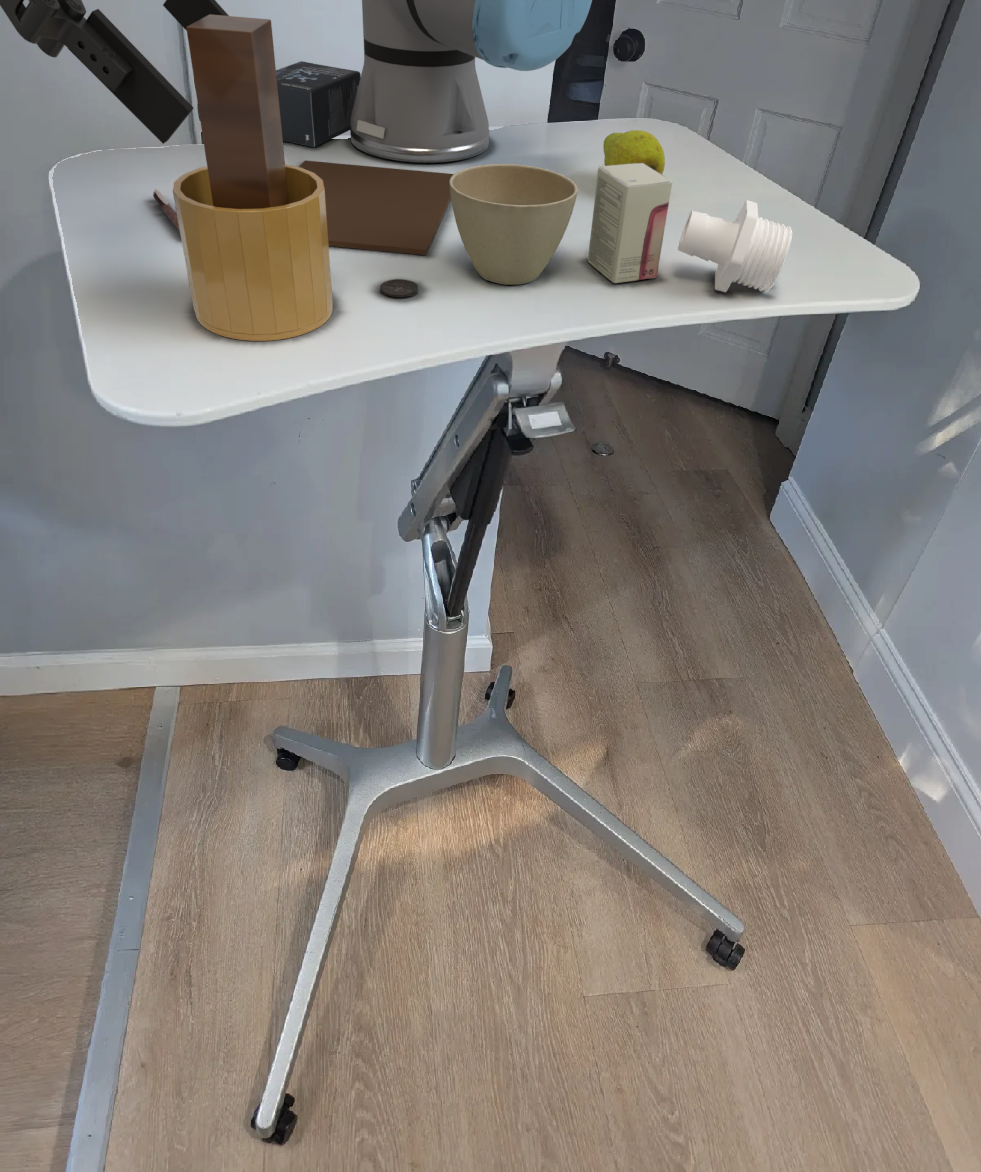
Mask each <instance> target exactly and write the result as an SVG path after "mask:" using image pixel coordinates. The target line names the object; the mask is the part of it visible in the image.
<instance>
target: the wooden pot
mask: <svg viewBox="0 0 981 1172" xmlns="http://www.w3.org/2000/svg"><path fill="white" fill-rule="evenodd" d="M285 170H286V180H287V190H288V201H289V204H287V205H284V206H277V207H270V208H262V209H232V208H222V207H214V206H213V201H212V194H211V187H210V181H209V174H208V168H207V165H206V166H201V167H198V168H195V169H192V170H190V171H188V172H185V173H183V174H182V175H181V176H179V177H178V178H177V179H176V180H175V181H174V182H173V186H172V195H173V200H174V206H175V213H176V214H177V218H178V224H179V229H180V231H179V235H180V239H181V246H182V251H183V256H184V262H185V267H186V272H187V279H188V284H189V285H188V286H189V290H190V295H191V296H190V297H191V300H192V307H193V311H194V313H195V317H196V320H197V321H198V323H199V324H200V325H201V326H202V327H203V328H204V329H206V330H207V331H209V332H212V333H213V334H216V335H218V336H221V337H225V338H228V339H233V340H239V341H251V342H267V341H278V340H286V339H291V338H294V337H299V336H302V335H306V334H308V333H310V332H313V331H315V330H317V329H318V328H320V327H322V326H323V325H324V324H325V323H326V322H328V321H329V319H330V318H331V316H332V314H333V309H334V308H333V304H334V303H333V288H332V274H331V273H332V272H331V263H330V262H331V261H330V246H329V245H328V231H327V216H326V202H325V188H324V183H323V180H322V179H321V178H320V177H319V176H317V175H316V174H315V173H313V172H311V171H308V170H306V169H303V168H300V167H299V166H297V165H291V164H286V163H285Z"/></svg>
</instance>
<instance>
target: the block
mask: <svg viewBox="0 0 981 1172" xmlns="http://www.w3.org/2000/svg"><path fill="white" fill-rule="evenodd" d="M272 26H273V25H272V19H269V18H257V17H244V16H233V15H229V16H222V15H208V16H206V17H204V18H202V19H200V20H198V21H196V22H195V23H193V24H191V25H189V26H187V27H186V30H187V31H186V30H185V31H186V36H187V41H188V47H189V48H188V49H189V56H190V61H191V68H192V75H193V82H194V88H195V89H194V90H195V94H196V95H195V96H196V102H197V109H198V115H199V121H200V127H201V135H202V140H203V147H204V154H205V161H206V166H207V168H208V174H209V181H210V187H211V194H212V201H213V206H214V207H222V208H232V209H262V208H270V207H277V206H284V205H287V204H289V201H288V190H287V180H286V170H285V164H286V162H285V161H286V160H285V151H284V141H283V139H282V129H281V118H280V108H279V98H278V88H277V77H276V70H277V69H276V68H277V67H276V58H275V49H274V48H275V47H274V38H273V27H272Z"/></svg>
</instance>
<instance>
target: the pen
mask: <svg viewBox="0 0 981 1172" xmlns="http://www.w3.org/2000/svg"><path fill="white" fill-rule="evenodd" d="M152 196H153V198H154V200H155V202H156V203H157V204H158V206H159V207H160V208H161V210H162V212H163V213H164V214H166V216H167V218H168V219H169V220H170V221H171V222H172V224H173V225H174V226H175V227H176V229H177V230H178V231H179V232H180V229H179V224H178V218H177V212H176V210H174V209H173V207H172V206H171V204H170V203H169V202H168V200H167V199H166V197H165V195H164V194H163V193H162V192H161V191H160V190H158V189H154V191H153V193H152Z"/></svg>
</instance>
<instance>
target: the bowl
mask: <svg viewBox="0 0 981 1172" xmlns="http://www.w3.org/2000/svg"><path fill="white" fill-rule="evenodd" d="M453 174H454V175H453V176H452V177H451V178H450V193H451V200H450V202H451V207H452V211H453V215H454V220H455V225H456V228H457V230H458V233H459V237H460V240H461V242H462V245H463V246H464V249H465V251H466V253H467V255H468V258H469V259H470V262H471V264H472V265H473V267H474V269H475V270H476V272H477V273H478V275H479V276H480V277H481V278H482V279H484V280H486V281H489V282H491V283H495V284H499V285H506V286H507V285H509V286H511V285H512V286H514V285H515V286H516V285H524V284H529V283H531V282H533V281H535V280H537V278H538V277H539V276H540V275H541V273H542V272H543V271H544V269H545V268H546V267H547V265H548V264H549V262H550V261H551V259H552V258H553V257H554V254H555V253H556V251H557V250H558V247H559V245H560V243H561V241H562V240H563V238H564V235H565V233H566V231H567V228H568V226H569V223H570V220H571V217H572V214H573V212H574V208H575V205H576V200H577V196H578V192H579V189H578V185H577V184H576V182H575V181H574V180H572V179H571V178H569V177H568V176H566V175H563V174H561V173H559V172H556V171H553V170H550V169H546V168H542V167H538V166H533V165H524V164H516V163H515V164H514V163H487V164H480V165H474V166H470V167H467V168H463V169H461V170H458V171H457V172H455V173H453Z"/></svg>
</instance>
